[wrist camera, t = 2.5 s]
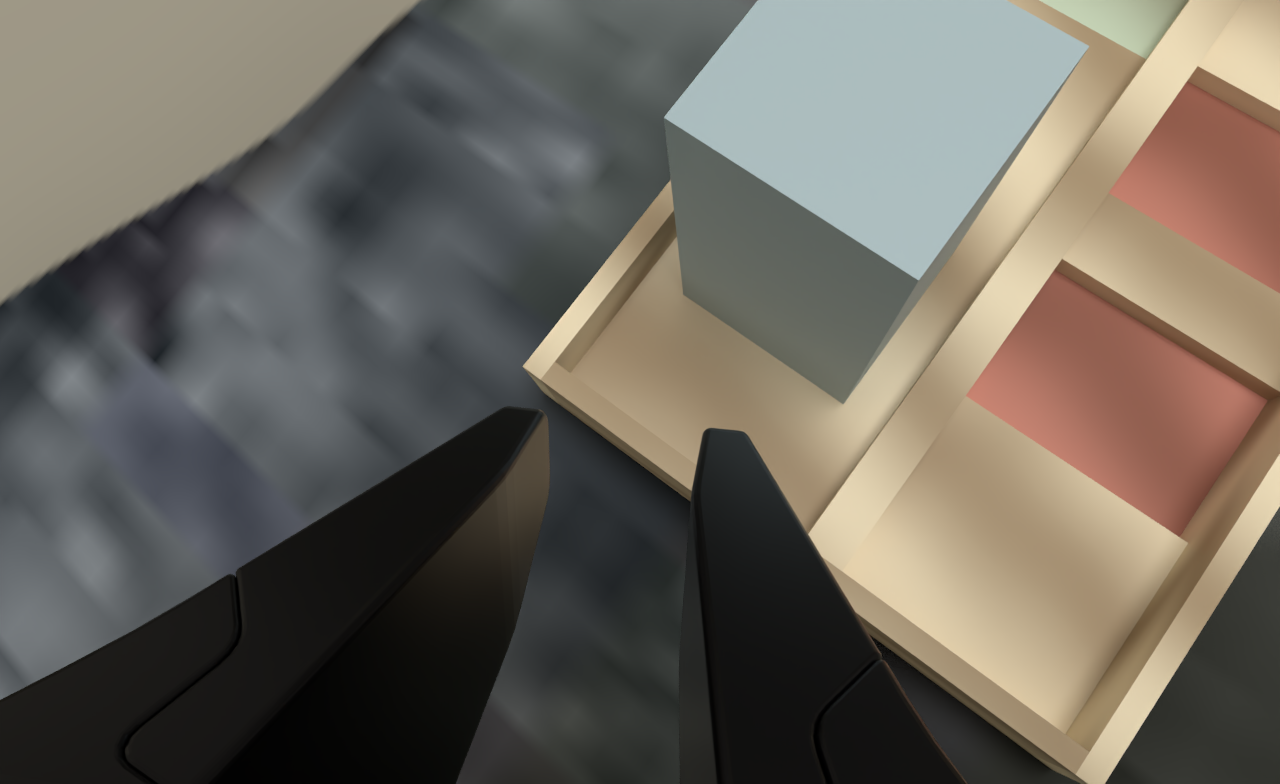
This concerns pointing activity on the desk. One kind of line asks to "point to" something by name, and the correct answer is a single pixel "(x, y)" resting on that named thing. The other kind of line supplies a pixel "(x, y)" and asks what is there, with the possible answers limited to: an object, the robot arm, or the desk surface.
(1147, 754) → the desk surface
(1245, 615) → the desk surface
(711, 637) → the robot arm
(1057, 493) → the wooden divided tray
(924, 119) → the block
